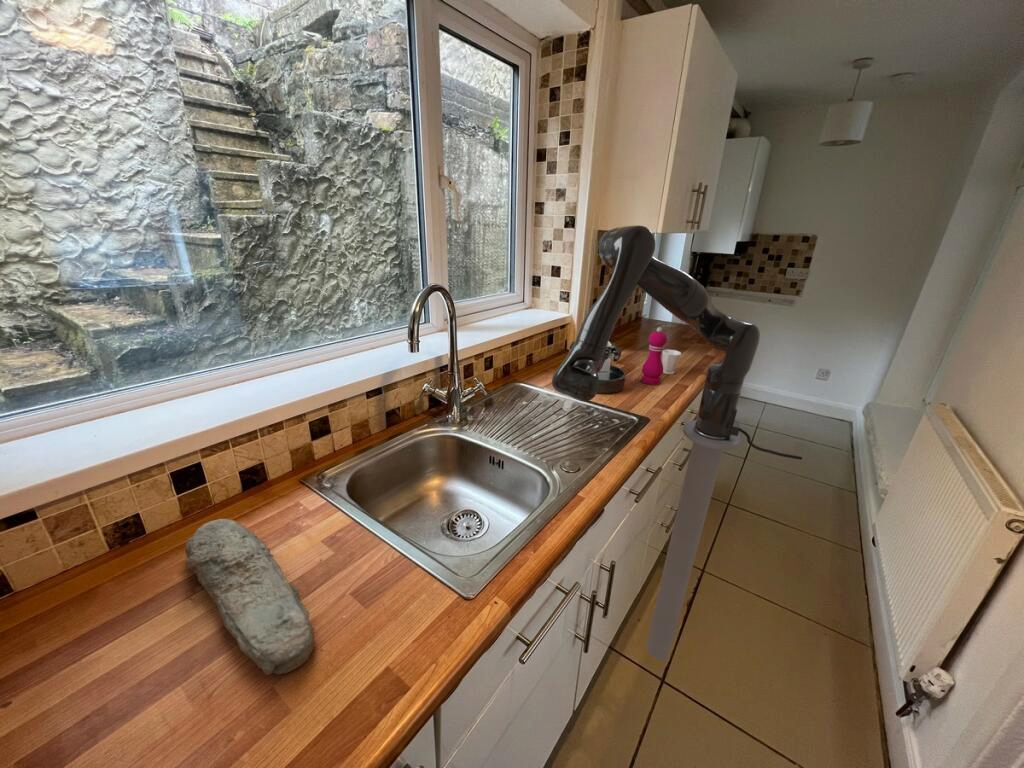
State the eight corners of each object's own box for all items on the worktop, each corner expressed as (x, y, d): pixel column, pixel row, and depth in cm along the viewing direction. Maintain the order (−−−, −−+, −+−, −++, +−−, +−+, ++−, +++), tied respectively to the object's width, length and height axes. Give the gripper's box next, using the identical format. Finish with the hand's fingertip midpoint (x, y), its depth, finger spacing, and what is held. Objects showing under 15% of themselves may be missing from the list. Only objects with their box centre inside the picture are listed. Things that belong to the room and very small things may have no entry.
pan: (628, 380, 146) (630, 367, 144) (618, 398, 132) (620, 384, 130) (581, 372, 153) (582, 359, 151) (566, 388, 138) (568, 374, 136)
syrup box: (608, 385, 139) (613, 345, 134) (591, 385, 139) (595, 344, 134) (605, 379, 144) (609, 340, 139) (588, 379, 144) (592, 339, 139)
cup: (655, 372, 155) (659, 352, 152) (665, 365, 162) (668, 346, 159) (674, 377, 151) (678, 356, 148) (683, 370, 158) (687, 350, 155)
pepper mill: (658, 387, 141) (668, 331, 134) (637, 382, 145) (646, 327, 137) (663, 380, 147) (673, 326, 140) (643, 376, 151) (651, 323, 143)
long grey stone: (256, 710, 48) (337, 651, 55) (250, 682, 46) (334, 624, 53) (173, 548, 68) (240, 520, 75) (166, 523, 66) (236, 497, 73)
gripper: (618, 350, 104) (625, 334, 118) (563, 343, 109) (576, 329, 123) (614, 377, 107) (621, 359, 121) (561, 370, 111) (574, 353, 126)
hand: (599, 344), depth 122 cm, fingers open, 8 cm apart
